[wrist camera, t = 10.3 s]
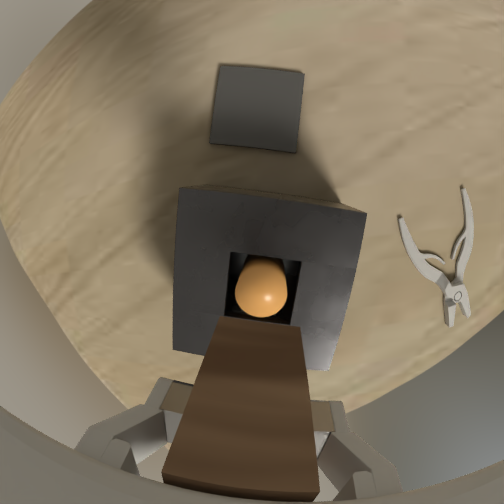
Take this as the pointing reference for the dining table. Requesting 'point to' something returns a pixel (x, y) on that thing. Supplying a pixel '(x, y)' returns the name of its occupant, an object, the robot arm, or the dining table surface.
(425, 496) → the robot arm
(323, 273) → the box
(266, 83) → the pad
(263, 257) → the egg
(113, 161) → the dining table surface
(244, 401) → the wood grain block
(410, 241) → the pliers
